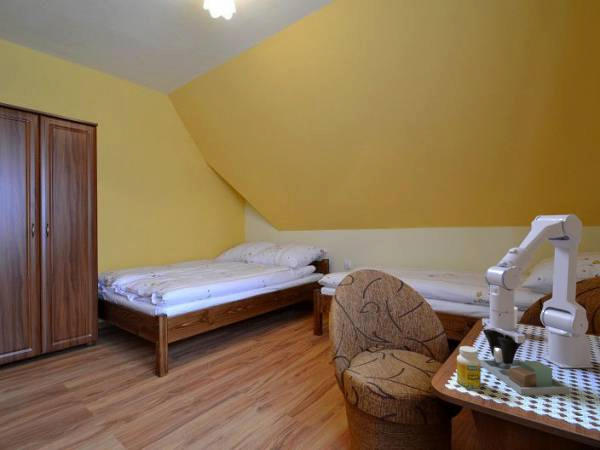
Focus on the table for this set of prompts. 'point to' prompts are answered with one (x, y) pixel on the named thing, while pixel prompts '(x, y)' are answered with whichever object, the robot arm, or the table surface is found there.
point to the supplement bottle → (468, 368)
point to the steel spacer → (499, 359)
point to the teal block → (539, 372)
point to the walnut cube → (522, 377)
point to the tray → (504, 377)
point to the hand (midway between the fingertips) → (502, 359)
